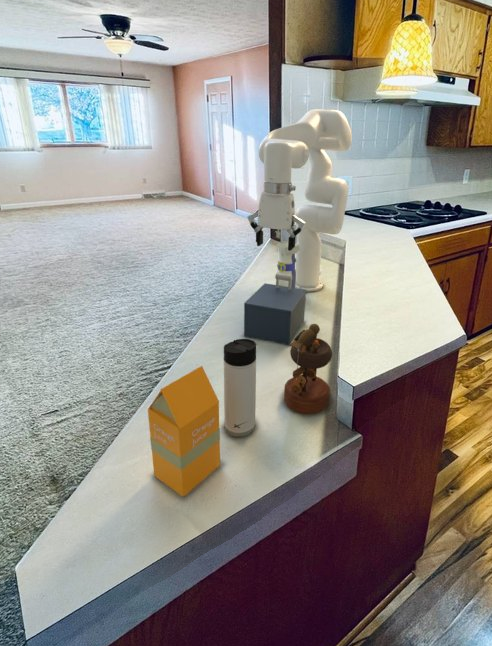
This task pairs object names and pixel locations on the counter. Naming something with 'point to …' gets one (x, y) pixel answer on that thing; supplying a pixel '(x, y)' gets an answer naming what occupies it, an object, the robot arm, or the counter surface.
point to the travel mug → (239, 387)
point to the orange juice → (185, 432)
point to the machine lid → (277, 296)
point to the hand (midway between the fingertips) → (275, 247)
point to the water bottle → (286, 261)
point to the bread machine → (273, 323)
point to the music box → (308, 373)
